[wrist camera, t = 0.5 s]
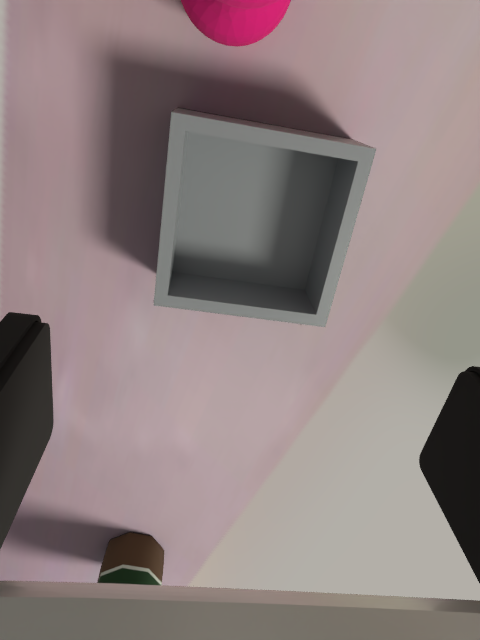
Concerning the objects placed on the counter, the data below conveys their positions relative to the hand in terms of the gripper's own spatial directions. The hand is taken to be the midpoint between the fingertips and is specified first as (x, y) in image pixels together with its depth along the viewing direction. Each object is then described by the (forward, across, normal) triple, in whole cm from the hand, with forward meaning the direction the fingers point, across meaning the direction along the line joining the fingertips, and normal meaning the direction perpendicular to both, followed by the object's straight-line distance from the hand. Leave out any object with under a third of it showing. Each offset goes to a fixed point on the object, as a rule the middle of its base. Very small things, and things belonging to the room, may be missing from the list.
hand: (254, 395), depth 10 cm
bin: (+30, -3, +4) cm, 30 cm away
